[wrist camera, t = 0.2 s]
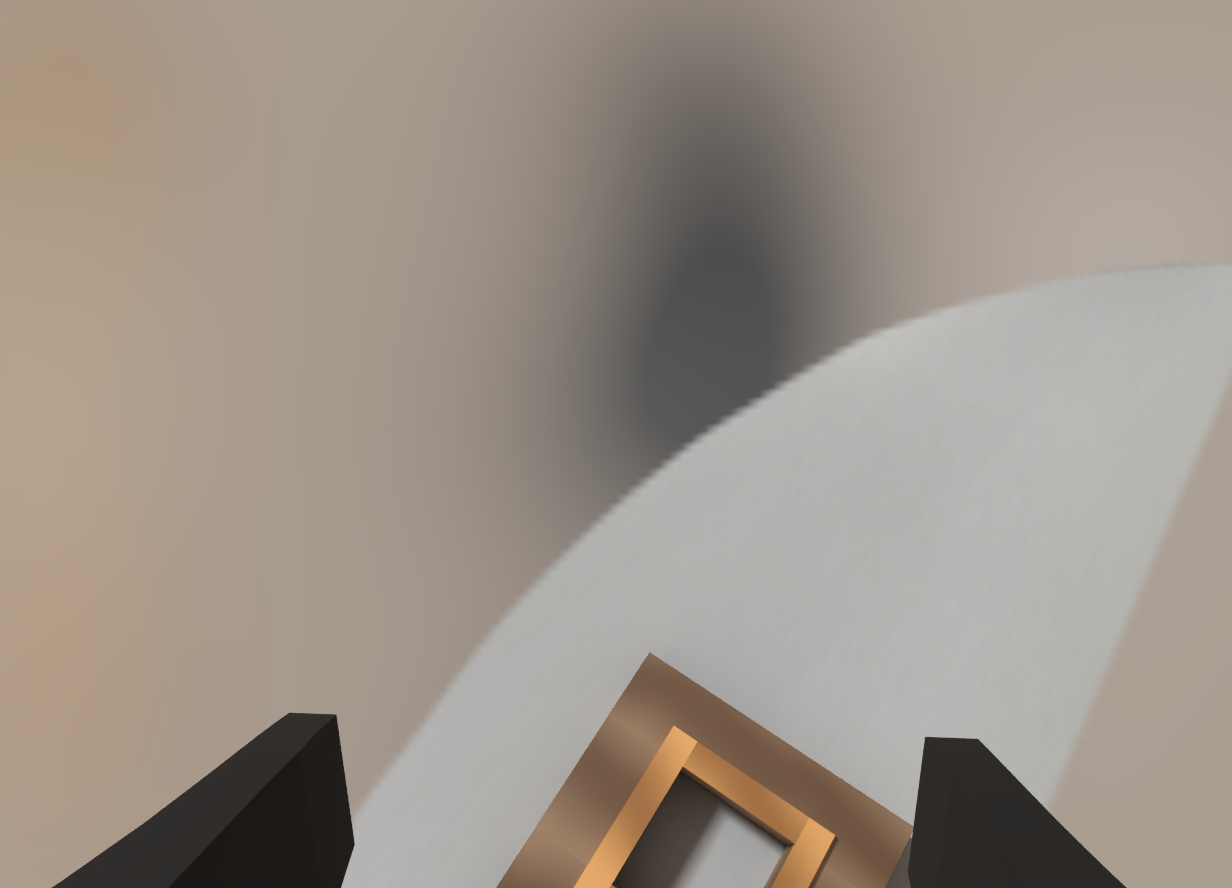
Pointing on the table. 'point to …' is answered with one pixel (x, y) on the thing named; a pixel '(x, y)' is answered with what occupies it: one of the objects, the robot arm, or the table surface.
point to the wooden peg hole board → (723, 765)
